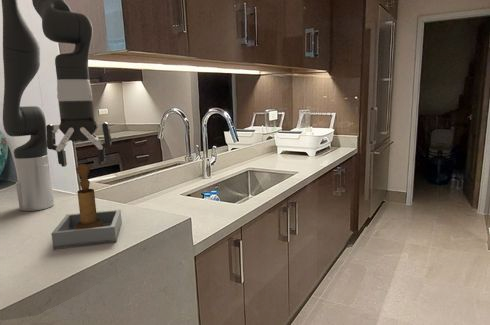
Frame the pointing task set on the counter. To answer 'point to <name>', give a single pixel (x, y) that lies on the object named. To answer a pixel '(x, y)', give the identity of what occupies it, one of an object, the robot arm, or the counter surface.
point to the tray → (87, 231)
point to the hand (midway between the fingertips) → (82, 164)
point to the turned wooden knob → (86, 201)
